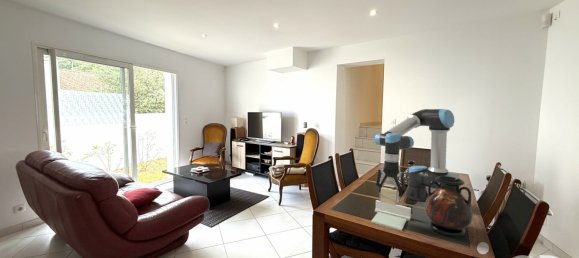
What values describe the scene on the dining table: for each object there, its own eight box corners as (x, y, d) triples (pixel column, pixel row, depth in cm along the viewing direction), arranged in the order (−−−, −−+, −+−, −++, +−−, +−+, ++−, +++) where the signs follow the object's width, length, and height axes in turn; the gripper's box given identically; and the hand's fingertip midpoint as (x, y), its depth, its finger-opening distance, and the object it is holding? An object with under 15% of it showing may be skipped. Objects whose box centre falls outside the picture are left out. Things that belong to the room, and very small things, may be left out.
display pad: (378, 213, 145) (378, 211, 145) (406, 220, 136) (406, 219, 136) (371, 222, 134) (371, 220, 134) (401, 231, 125) (401, 229, 125)
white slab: (376, 209, 150) (376, 200, 150) (410, 218, 139) (411, 208, 138) (374, 211, 148) (375, 201, 147) (409, 220, 136) (410, 209, 136)
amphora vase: (473, 228, 127) (477, 178, 124) (469, 246, 111) (473, 189, 108) (428, 216, 141) (430, 171, 139) (418, 230, 125) (421, 179, 123)
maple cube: (384, 197, 139) (384, 184, 138) (398, 200, 135) (399, 186, 134) (380, 201, 133) (381, 187, 132) (395, 205, 128) (396, 190, 127)
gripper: (370, 159, 135) (369, 197, 137) (411, 164, 122) (408, 206, 124) (374, 157, 141) (373, 194, 143) (413, 162, 129) (411, 202, 131)
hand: (389, 199), depth 134 cm, fingers closed on maple cube, 8 cm apart
